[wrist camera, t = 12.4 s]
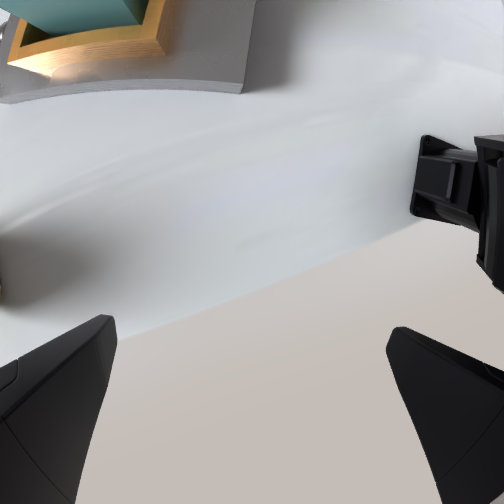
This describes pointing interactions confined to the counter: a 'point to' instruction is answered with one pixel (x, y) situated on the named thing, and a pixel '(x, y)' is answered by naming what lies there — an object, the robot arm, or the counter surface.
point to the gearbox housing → (131, 53)
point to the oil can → (77, 14)
